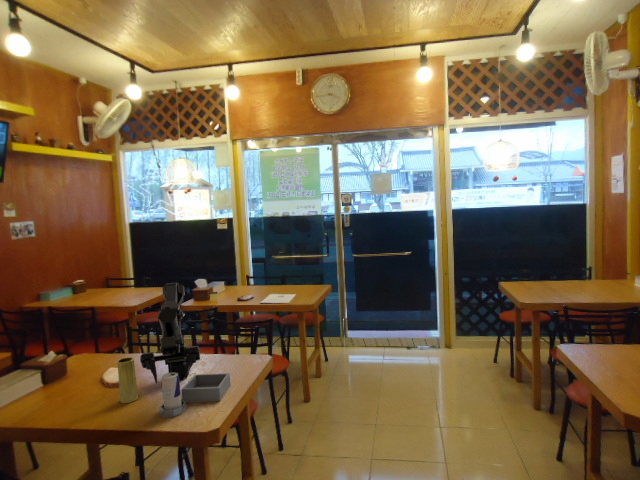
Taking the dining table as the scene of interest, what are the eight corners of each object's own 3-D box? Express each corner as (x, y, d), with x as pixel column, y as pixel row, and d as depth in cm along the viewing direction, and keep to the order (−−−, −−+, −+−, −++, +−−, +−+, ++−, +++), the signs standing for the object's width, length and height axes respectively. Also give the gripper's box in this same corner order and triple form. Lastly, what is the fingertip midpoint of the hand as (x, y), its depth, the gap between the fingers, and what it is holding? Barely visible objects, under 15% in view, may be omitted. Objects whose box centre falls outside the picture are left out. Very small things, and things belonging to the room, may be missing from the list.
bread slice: (120, 389, 160) (119, 379, 160) (85, 385, 167) (84, 375, 166) (155, 371, 177) (154, 362, 176) (122, 368, 183) (121, 359, 183)
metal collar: (156, 417, 135) (155, 410, 135) (166, 406, 142) (166, 399, 142) (180, 416, 134) (179, 410, 134) (189, 405, 142) (188, 399, 142)
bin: (182, 402, 145) (181, 389, 144) (196, 386, 158) (195, 374, 157) (220, 401, 144) (219, 388, 143) (230, 385, 157) (229, 373, 156)
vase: (120, 405, 145) (116, 364, 144) (119, 398, 151) (115, 359, 150) (139, 400, 148) (135, 360, 147) (137, 394, 154) (134, 355, 153)
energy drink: (185, 408, 140) (182, 372, 139) (174, 416, 135) (171, 379, 134) (171, 406, 142) (168, 371, 141) (160, 414, 137) (157, 377, 136)
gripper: (138, 329, 141) (136, 374, 131) (196, 322, 146) (199, 364, 136) (143, 346, 149) (142, 389, 139) (199, 339, 154) (201, 379, 144)
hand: (171, 380), depth 140 cm, fingers open, 9 cm apart
